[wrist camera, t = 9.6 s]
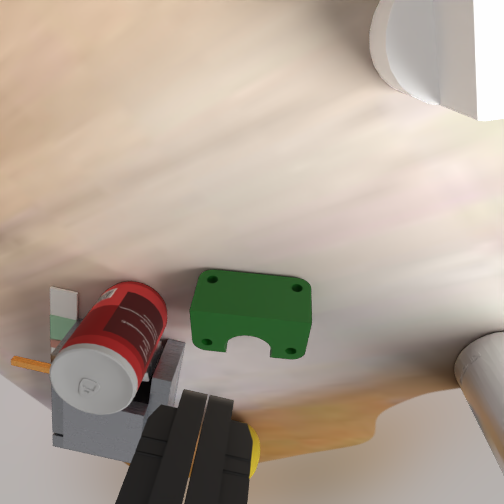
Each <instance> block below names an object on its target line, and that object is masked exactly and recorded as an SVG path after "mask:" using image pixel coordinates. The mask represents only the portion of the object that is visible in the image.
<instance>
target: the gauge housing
mask: <svg viewBox="0 0 504 504" xmlns="http://www.w3.org/2000/svg"><path fill="white" fill-rule="evenodd" d="M82 321H83V319H78V320H77V321H76V322H75V324H74V325H73V326H72V328H71V329H70V330H69V332H68V333H67V334H66V335H65V337H64V338H63V339H62V341H61V342H60V343H59V344H58V346H57V347H56V348H55V350H54V351H53V352H52V354H51V364H52V362H53V361H54V359H55V357H56V356H57V354H58V353H59V351H60V350H61V349H62V347H63V346H64V344H65V343H66V342H67V340H68V339H69V338H70V336H71V335H72V334H73V332H74V331H75V330H76V329H77V327H78V326H79V325H80V323H81V322H82ZM184 347H185V343H184V342H180V341H175V340H171V339H168V341H167V343H166V345H165V348H164V350H163V353H162V355H161V358H160V360H159V362H158V365H157V367H156V370H155V372H154V374H153V377H152V383H151V390H150V397H149V404H144V403H140V402H135V401H132V402H131V403H130V404H129V405H128V406H127V407H126V408H124V409H123V410H121V411H119V412H116V413H112V414H104V415H99V414H91V413H87V412H84V411H81V410H78V409H76V408H74V407H73V406H71V405H69V404H68V403H66V402H65V401H64V400H63V399H62V398H61V397H60V396H59V395H58V394H57V393H56V391H55V390H54V388H53V386H52V384H51V387H52V428H53V432H54V434H53V446H55V447H60V448H64V449H69V450H74V451H79V452H83V453H87V454H92V455H97V456H101V457H105V458H110V459H114V460H119V461H123V462H128V463H131V461H132V458H133V456H134V454H135V451H136V448H137V445H138V443H139V440H140V438H141V435H142V432H143V429H144V427H145V424H146V422H147V419H148V417H149V416H150V415H151V414H152V413H153V412H154V411H155V410H156V409H157V408H158V407H159V406H160V405H161V404H162V405H166V406H171V407H174V401H175V396H176V391H177V385H178V380H179V374H180V369H181V363H182V358H183V353H184Z"/></svg>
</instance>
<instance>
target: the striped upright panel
mask: <svg viewBox="0 0 504 504" xmlns="http://www.w3.org/2000/svg"><path fill="white" fill-rule="evenodd" d="M77 320H78V292H74V291H70V290H66V289H61V288H57V287H53V286H51V287H50V340H51V354H52V352H53V351H54V350H55V348H56V347H57V346H58V344H59V343H60V342H61V341H62V339H63V338H64V337H65V335H66V334H67V333H68V332H69V330H70V329H71V328H72V326H73V325H74V324H75V322H76V321H77Z"/></svg>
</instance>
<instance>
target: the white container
mask: <svg viewBox="0 0 504 504" xmlns="http://www.w3.org/2000/svg"><path fill="white" fill-rule="evenodd" d="M369 49H370V54H371V57H372V61H373V65H374V67H375V68H376V70H377V72H378V73H379V75H380V77H381V78H382V79H383V80H384V81H385V82H386V83H387V84H388V85H389V86H391V87H392V88H393V89H396V90H398V91H400V92H402V93H404V94H407V95H409V96H411V97H414V98H416V99H418V100H421V101H423V102H426V103H428V104H435V105H441V106H443V107H446V108H448V109H451V110H453V111H456V112H458V113H461V114H463V115H466V116H468V117H471V118H473V119H476V120H480V121H489V120H497V119H504V0H380V2H379V4H378V6H377V8H376V10H375V12H374V14H373V18H372V23H371V27H370V32H369Z"/></svg>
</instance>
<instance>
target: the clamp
mask: <svg viewBox="0 0 504 504" xmlns="http://www.w3.org/2000/svg"><path fill="white" fill-rule="evenodd" d="M190 320H191V331H192V341H193V344H194V345H195V346H196V347H198V348H200V349H203V350H209V351H218V352H226V349H227V343H228V340H229V339H231V338H233V337H236V336H243V335H247V336H254V337H258V338H260V339H262V340H264V341H266V342H267V343H268V344H269V345H270V347H271V349H270V357H273V358H282V359H298V358H301V357H302V356H303V355H304V354H305V351H306V346H307V342H308V338H309V334H310V329H311V325H312V304H311V286H310V284H309V283H308V282H307V281H305V280H303V279H300V278H294V277H284V276H274V275H264V274H254V273H244V272H234V271H224V270H207V271H204V272H203V273H201V274H200V276H199V278H198V282H197V285H196V289H195V293H194V296H193V300H192V304H191V307H190Z"/></svg>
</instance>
